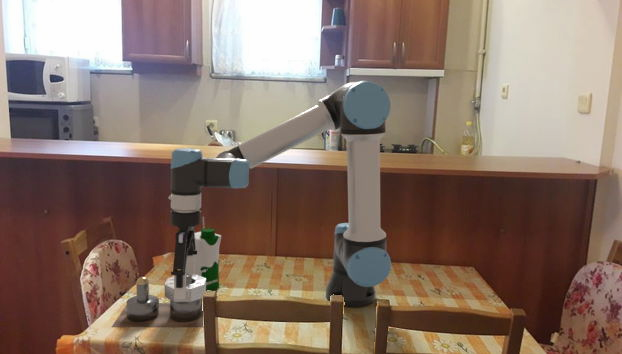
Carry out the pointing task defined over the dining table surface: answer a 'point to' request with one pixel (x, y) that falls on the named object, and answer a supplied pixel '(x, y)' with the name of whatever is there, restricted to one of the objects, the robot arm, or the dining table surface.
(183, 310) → the stand post
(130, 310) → the hub post
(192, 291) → the steel ring
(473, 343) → the dining table surface
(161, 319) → the board
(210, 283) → the milk carton
